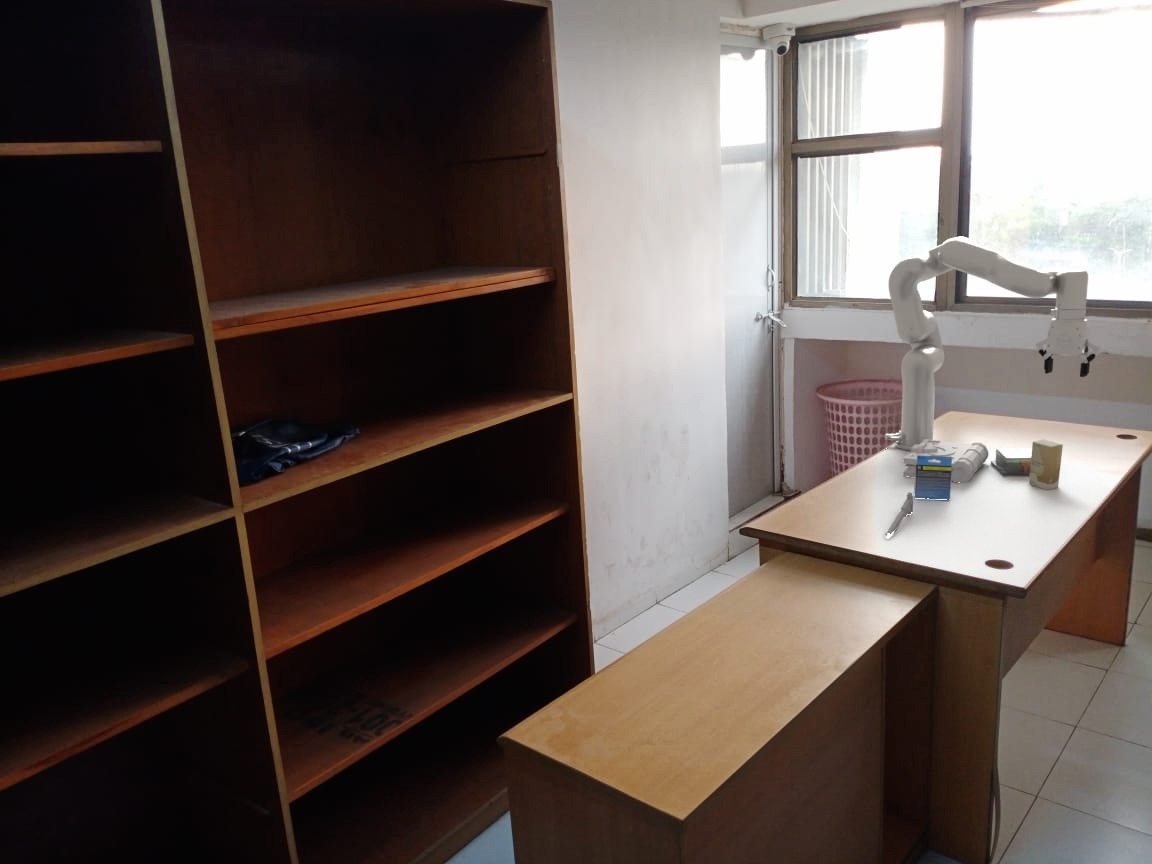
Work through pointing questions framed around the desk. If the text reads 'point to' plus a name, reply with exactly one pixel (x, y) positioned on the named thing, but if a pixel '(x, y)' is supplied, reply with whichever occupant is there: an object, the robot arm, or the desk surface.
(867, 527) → the desk surface
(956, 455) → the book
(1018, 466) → the grey piece
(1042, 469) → the skincare box
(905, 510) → the caliper
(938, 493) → the label tape box
